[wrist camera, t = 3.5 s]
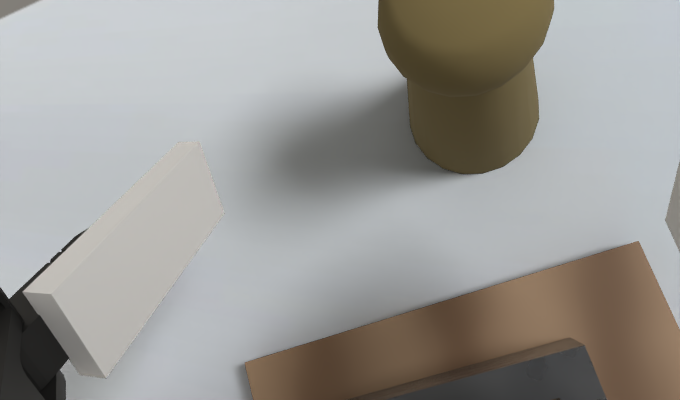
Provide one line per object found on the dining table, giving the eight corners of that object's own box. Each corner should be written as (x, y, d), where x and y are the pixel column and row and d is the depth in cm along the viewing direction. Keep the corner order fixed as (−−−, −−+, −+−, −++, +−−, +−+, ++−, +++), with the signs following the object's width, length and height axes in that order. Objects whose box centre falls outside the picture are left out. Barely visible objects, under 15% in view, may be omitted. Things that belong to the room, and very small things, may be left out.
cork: (502, 195, 23) (512, 115, 13) (388, 143, 25) (316, 36, 15) (562, 80, 23) (622, -93, 13) (444, 37, 25) (413, -143, 15)
